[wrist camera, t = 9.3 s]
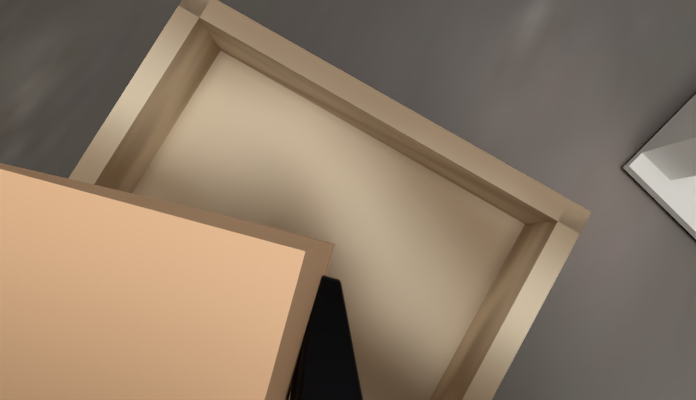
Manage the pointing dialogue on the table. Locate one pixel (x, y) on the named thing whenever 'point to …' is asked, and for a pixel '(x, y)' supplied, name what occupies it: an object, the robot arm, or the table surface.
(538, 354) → the table surface
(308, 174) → the tray
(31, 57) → the table surface
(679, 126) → the white piece
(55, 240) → the orange post
